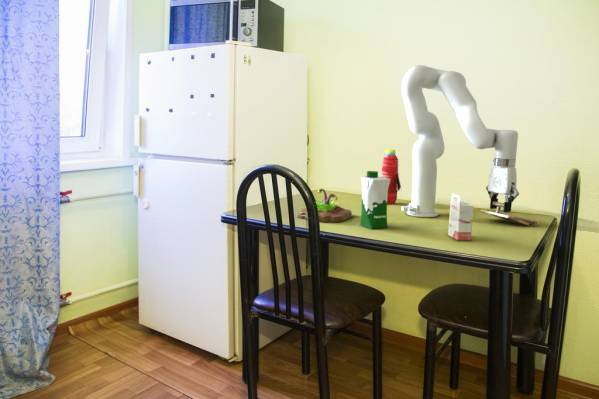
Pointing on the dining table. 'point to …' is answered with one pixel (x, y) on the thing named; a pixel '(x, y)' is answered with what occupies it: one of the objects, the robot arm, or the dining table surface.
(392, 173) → the water bottle
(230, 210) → the dining table surface
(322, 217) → the plant
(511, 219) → the photo frame
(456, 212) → the ink cartridge box
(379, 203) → the milk carton
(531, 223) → the frame foot
